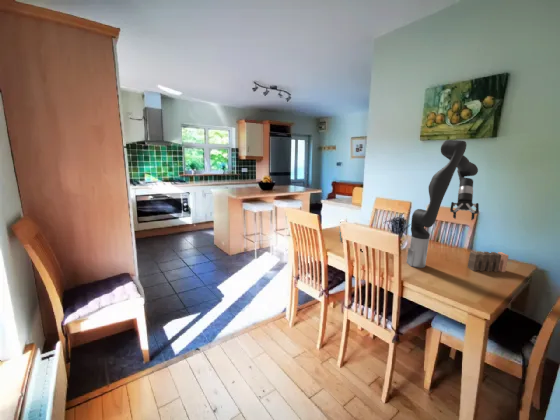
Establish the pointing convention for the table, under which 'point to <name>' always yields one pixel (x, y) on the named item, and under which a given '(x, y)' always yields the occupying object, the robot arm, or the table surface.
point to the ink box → (343, 220)
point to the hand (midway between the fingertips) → (463, 219)
